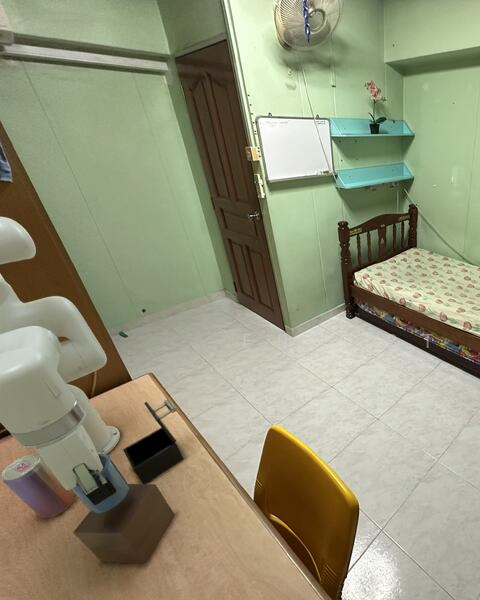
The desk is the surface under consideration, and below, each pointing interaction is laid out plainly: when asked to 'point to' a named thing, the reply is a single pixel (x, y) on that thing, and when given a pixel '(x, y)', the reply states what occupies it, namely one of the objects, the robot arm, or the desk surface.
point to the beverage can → (37, 486)
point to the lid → (163, 415)
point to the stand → (128, 526)
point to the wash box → (153, 455)
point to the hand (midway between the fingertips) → (100, 484)
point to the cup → (115, 478)
